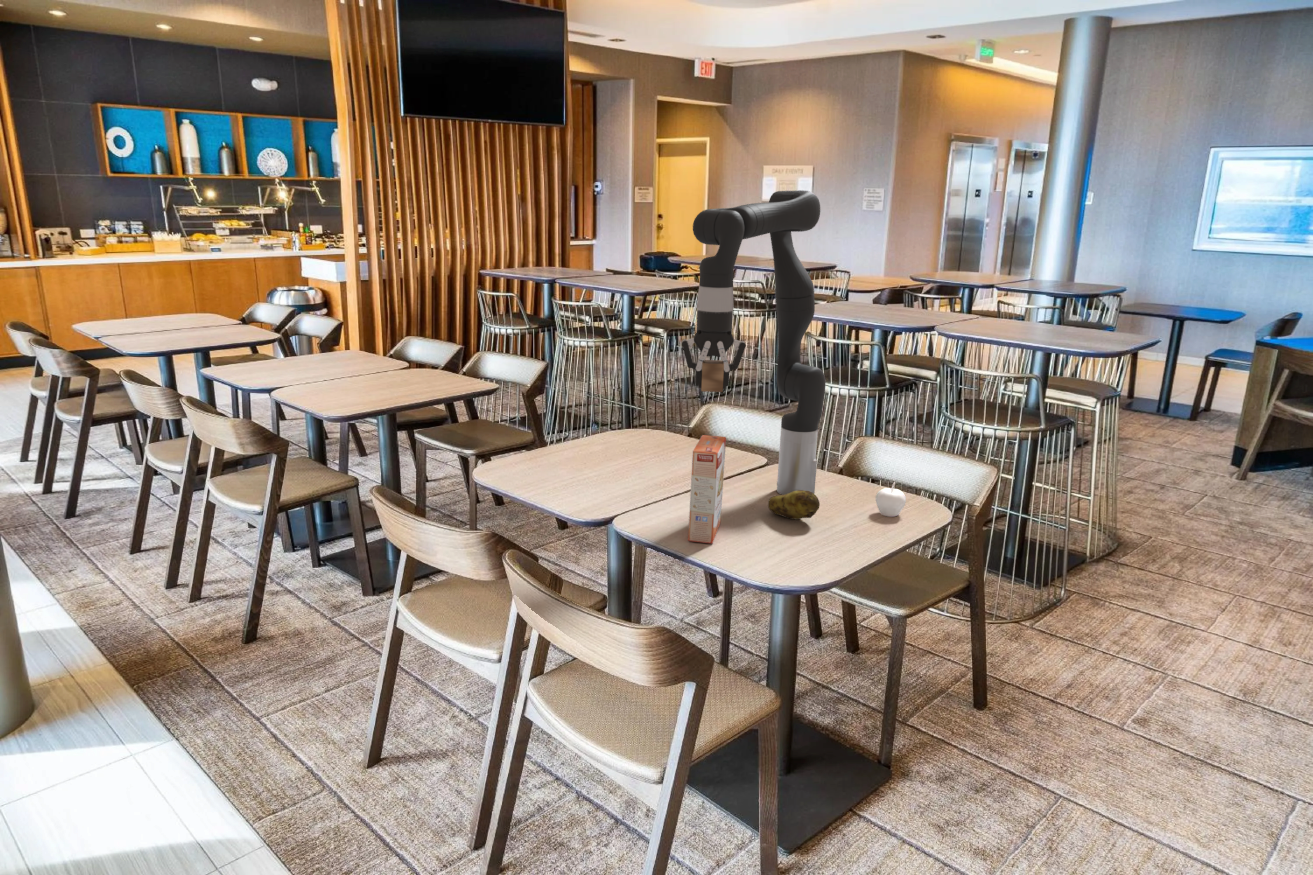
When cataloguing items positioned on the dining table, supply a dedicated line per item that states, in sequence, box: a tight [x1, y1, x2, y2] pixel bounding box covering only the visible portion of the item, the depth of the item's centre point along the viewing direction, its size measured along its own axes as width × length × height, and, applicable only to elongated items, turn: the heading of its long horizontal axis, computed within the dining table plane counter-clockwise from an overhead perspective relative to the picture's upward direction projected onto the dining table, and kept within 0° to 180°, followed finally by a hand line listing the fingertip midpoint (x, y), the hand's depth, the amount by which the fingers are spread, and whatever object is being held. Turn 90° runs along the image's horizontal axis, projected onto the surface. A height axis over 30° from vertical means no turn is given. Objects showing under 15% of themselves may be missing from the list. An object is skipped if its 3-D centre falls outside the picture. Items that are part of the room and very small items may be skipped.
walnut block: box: [700, 359, 724, 393], centre depth 186 cm, size 4×4×6 cm
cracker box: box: [687, 434, 727, 545], centre depth 192 cm, size 14×6×21 cm, turn 168°
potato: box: [767, 490, 820, 520], centre depth 203 cm, size 8×13×8 cm, turn 25°
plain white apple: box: [875, 481, 907, 518], centre depth 209 cm, size 7×7×8 cm
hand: (711, 387), depth 186 cm, fingers closed on walnut block, 4 cm apart
